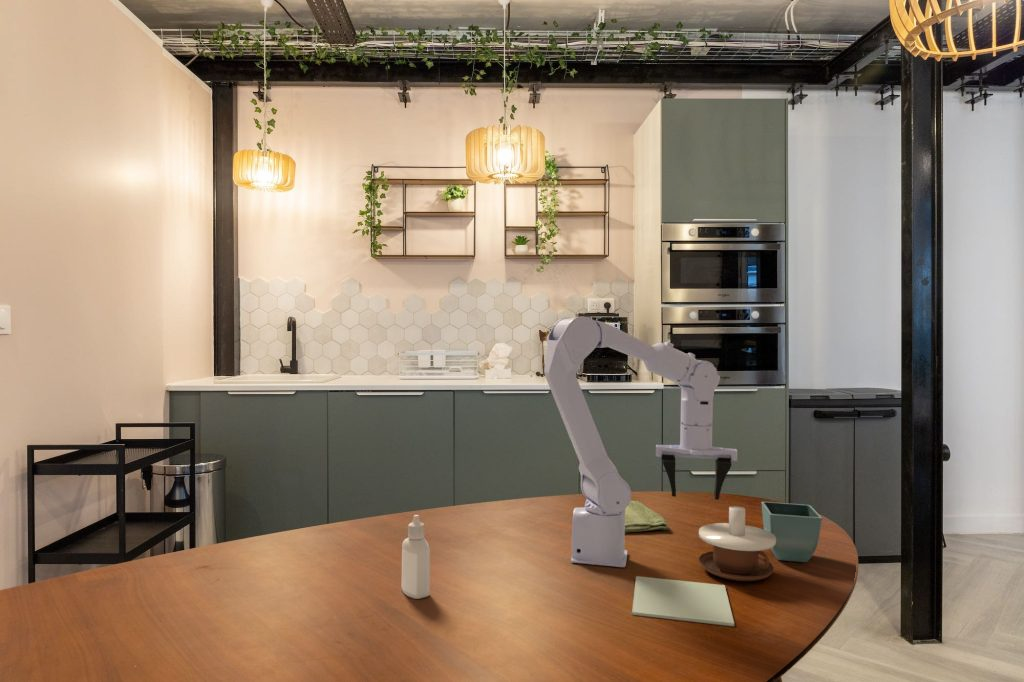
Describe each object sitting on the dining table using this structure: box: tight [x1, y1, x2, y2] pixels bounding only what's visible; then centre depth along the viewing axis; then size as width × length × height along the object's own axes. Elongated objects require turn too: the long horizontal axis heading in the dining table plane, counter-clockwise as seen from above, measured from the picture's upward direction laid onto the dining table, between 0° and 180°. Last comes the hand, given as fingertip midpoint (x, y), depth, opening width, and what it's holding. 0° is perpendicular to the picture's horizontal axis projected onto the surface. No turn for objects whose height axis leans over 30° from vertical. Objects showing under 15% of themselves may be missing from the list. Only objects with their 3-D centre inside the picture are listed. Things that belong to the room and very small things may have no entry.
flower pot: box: [761, 501, 823, 563], centre depth 116 cm, size 9×9×9 cm
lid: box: [698, 505, 776, 551], centre depth 108 cm, size 12×12×5 cm
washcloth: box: [625, 500, 669, 534], centre depth 138 cm, size 13×18×3 cm
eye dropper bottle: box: [401, 514, 431, 600], centre depth 98 cm, size 4×6×12 cm
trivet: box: [631, 575, 735, 627], centre depth 97 cm, size 14×14×1 cm
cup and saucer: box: [698, 545, 774, 582], centre depth 108 cm, size 12×12×6 cm
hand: (695, 496), depth 118 cm, fingers open, 7 cm apart
